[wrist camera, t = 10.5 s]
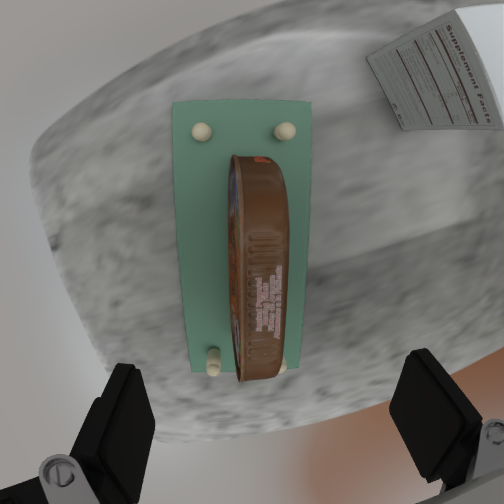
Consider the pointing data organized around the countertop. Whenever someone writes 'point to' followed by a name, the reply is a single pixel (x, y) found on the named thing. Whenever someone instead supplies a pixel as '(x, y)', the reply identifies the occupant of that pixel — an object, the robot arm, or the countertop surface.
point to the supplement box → (447, 71)
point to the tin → (257, 265)
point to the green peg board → (216, 213)
